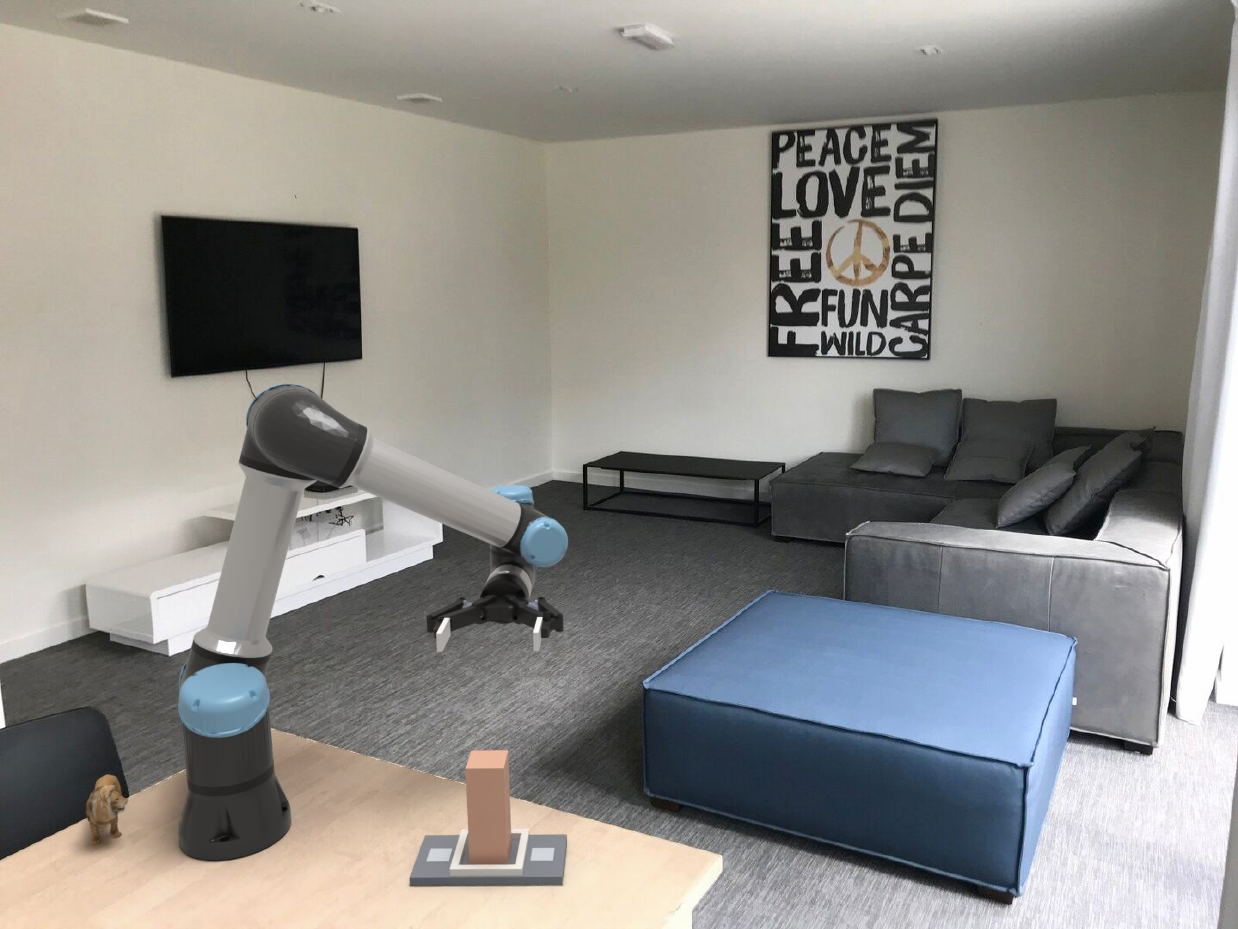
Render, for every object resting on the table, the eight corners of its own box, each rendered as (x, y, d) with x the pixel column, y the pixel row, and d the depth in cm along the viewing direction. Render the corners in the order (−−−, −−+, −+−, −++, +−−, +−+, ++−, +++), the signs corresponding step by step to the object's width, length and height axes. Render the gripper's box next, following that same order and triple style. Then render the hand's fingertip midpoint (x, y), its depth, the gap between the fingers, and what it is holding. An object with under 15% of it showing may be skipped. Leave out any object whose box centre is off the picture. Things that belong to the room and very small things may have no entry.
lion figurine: (134, 846, 139) (127, 787, 137) (91, 858, 136) (84, 798, 135) (123, 801, 151) (117, 746, 150) (84, 810, 149) (77, 755, 147)
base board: (409, 886, 129) (409, 870, 129) (425, 843, 139) (424, 828, 138) (562, 885, 129) (562, 869, 128) (567, 842, 139) (566, 828, 138)
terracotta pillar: (469, 865, 131) (465, 768, 129) (475, 844, 136) (471, 750, 134) (507, 865, 131) (503, 768, 129) (511, 844, 136) (508, 750, 133)
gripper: (583, 616, 159) (577, 667, 139) (430, 617, 160) (400, 668, 139) (582, 571, 158) (575, 616, 137) (427, 573, 158) (397, 617, 137)
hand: (487, 642), depth 138 cm, fingers open, 13 cm apart
